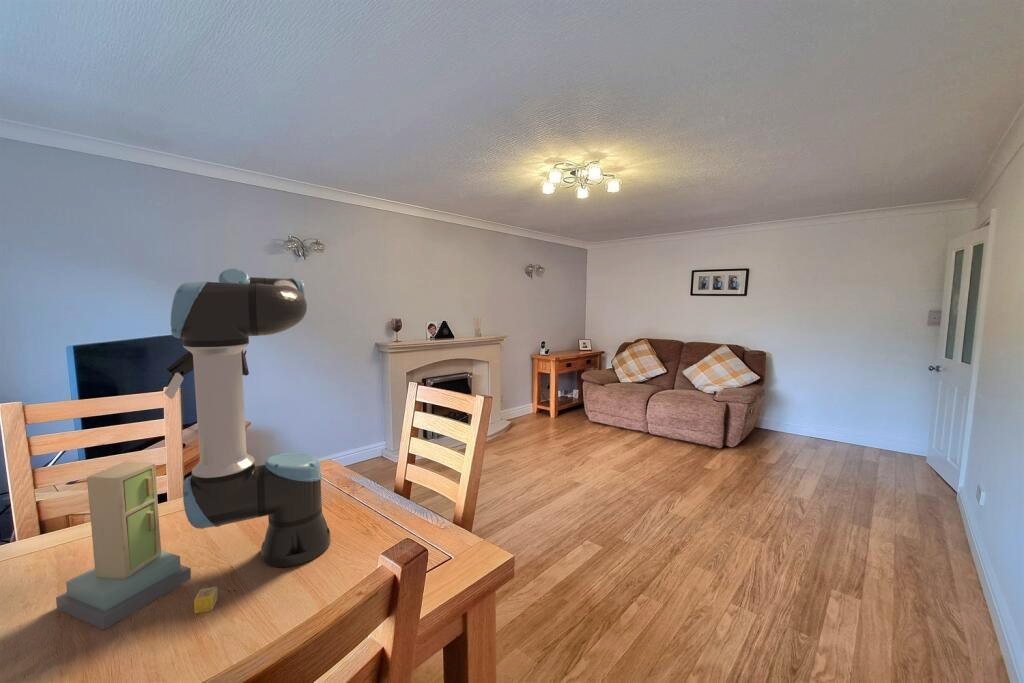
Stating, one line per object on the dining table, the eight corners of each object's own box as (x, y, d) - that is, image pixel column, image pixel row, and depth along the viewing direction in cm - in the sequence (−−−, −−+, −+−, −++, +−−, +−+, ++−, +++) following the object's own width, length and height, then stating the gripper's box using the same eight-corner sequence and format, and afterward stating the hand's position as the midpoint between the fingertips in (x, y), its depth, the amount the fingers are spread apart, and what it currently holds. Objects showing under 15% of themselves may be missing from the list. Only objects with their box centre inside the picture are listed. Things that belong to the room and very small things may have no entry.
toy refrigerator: (128, 580, 80) (120, 477, 79) (94, 578, 81) (85, 476, 79) (165, 555, 88) (159, 462, 86) (133, 554, 89) (126, 460, 87)
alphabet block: (218, 599, 83) (217, 585, 83) (213, 610, 80) (212, 595, 80) (200, 603, 82) (199, 589, 82) (194, 614, 79) (193, 599, 79)
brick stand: (191, 578, 89) (189, 554, 89) (104, 629, 75) (101, 601, 75) (146, 563, 94) (144, 541, 94) (57, 609, 80) (54, 582, 79)
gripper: (275, 343, 126) (251, 402, 112) (188, 342, 123) (153, 403, 110) (266, 326, 120) (240, 387, 107) (174, 326, 118) (136, 388, 104)
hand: (196, 395), depth 108 cm, fingers open, 13 cm apart
